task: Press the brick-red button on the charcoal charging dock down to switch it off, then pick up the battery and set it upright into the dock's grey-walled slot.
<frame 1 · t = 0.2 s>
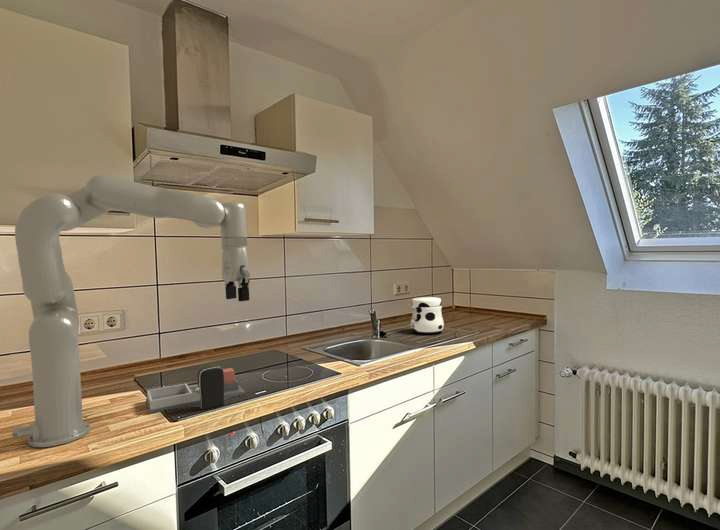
hand: (237, 299, 126), 30 cm above the worktop, tool pointing down, fingers open, 9 cm apart
red button: (226, 376, 132), point 5 cm above the worktop, slide at 0.0 cm
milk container: (427, 332, 219), on the worktop
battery: (211, 406, 120), on the worktop
charging dock: (196, 397, 128), on the worktop
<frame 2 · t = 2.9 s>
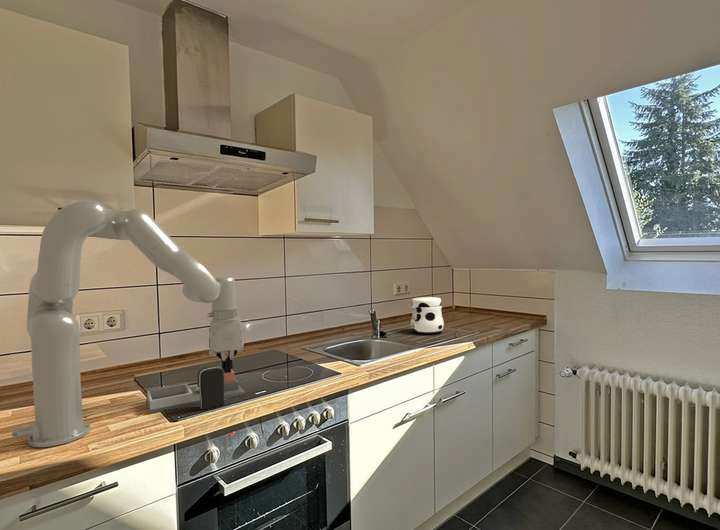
hand: (227, 371, 133), 7 cm above the worktop, tool pointing down, fingers closed
red button: (227, 377, 132), point 5 cm above the worktop, slide at 0.5 cm, touching gripper
everything else where it was.
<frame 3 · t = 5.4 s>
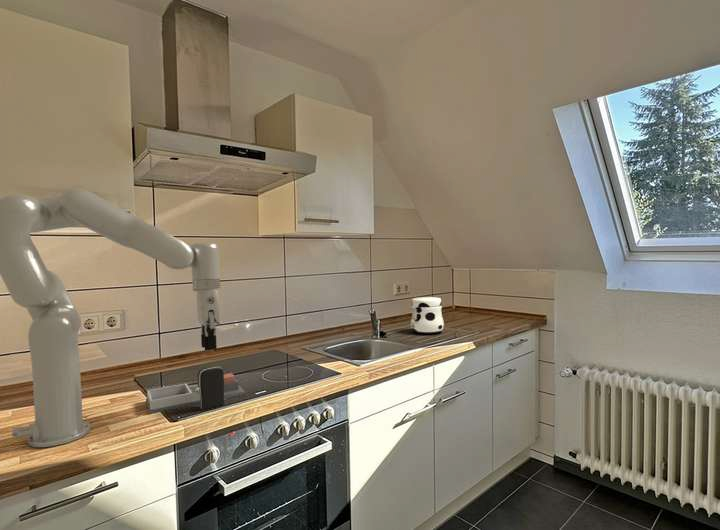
hand: (209, 347, 120), 17 cm above the worktop, tool pointing down, fingers open, 3 cm apart
red button: (227, 381, 132), point 3 cm above the worktop, slide at 1.8 cm
everything else where it was.
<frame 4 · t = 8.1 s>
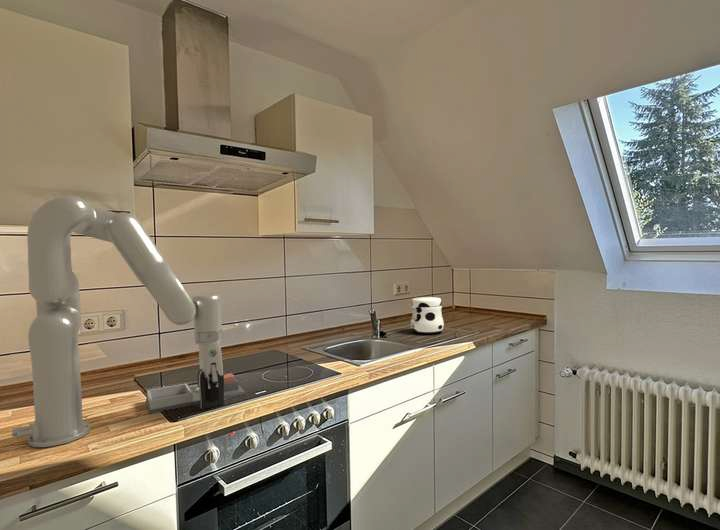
hand: (211, 398, 120), 2 cm above the worktop, tool pointing down, fingers closed on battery, 4 cm apart
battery: (211, 406, 121), on the worktop, touching gripper
everything else where it was.
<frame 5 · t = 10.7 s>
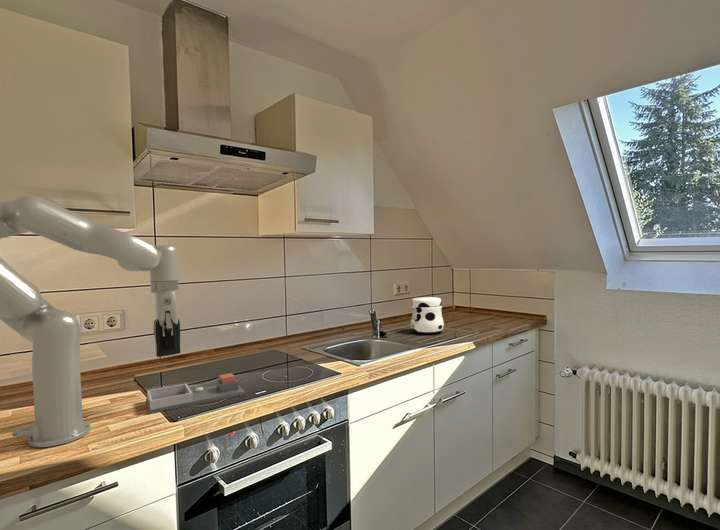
hand: (167, 347, 123), 17 cm above the worktop, tool pointing down, fingers closed on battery, 4 cm apart
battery: (167, 355, 123), point 14 cm above the worktop, touching gripper
everything else where it was.
when the fingers open (5 cm above the worktop, at t = 13.2 s): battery drops 2 cm, resting on charging dock.
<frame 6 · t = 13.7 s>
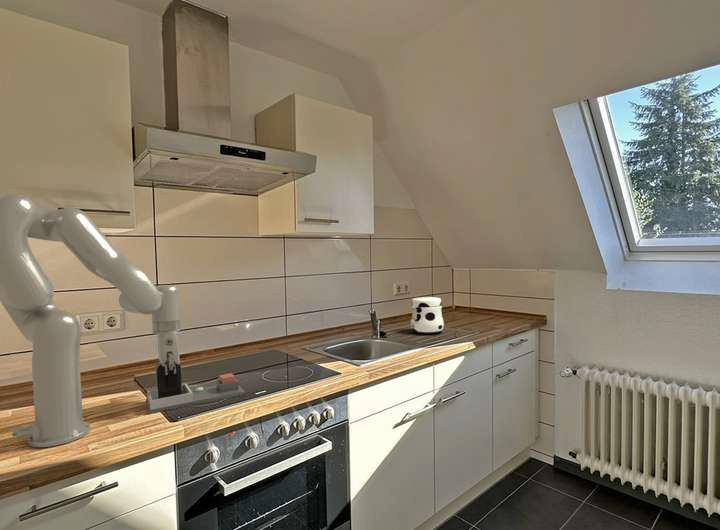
hand: (169, 383, 124), 6 cm above the worktop, tool pointing down, fingers open, 9 cm apart
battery: (169, 399, 124), point 1 cm above the worktop, touching charging dock
everything else where it was.
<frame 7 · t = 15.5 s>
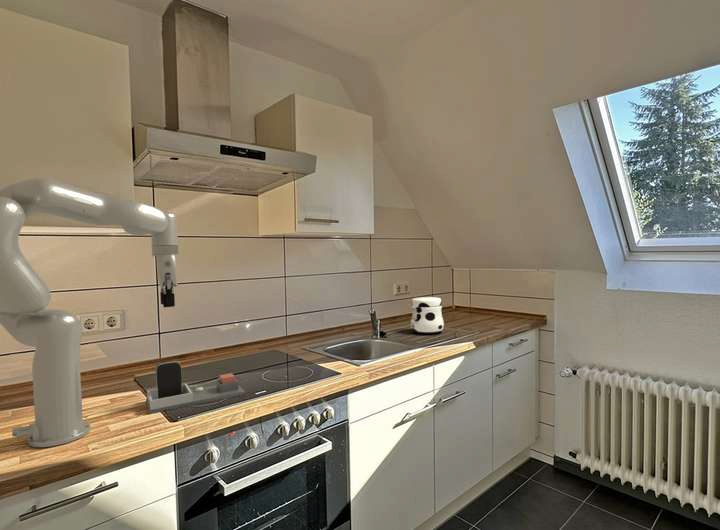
hand: (167, 305, 131), 29 cm above the worktop, tool pointing down, fingers open, 9 cm apart
nothing on the worktop moved.
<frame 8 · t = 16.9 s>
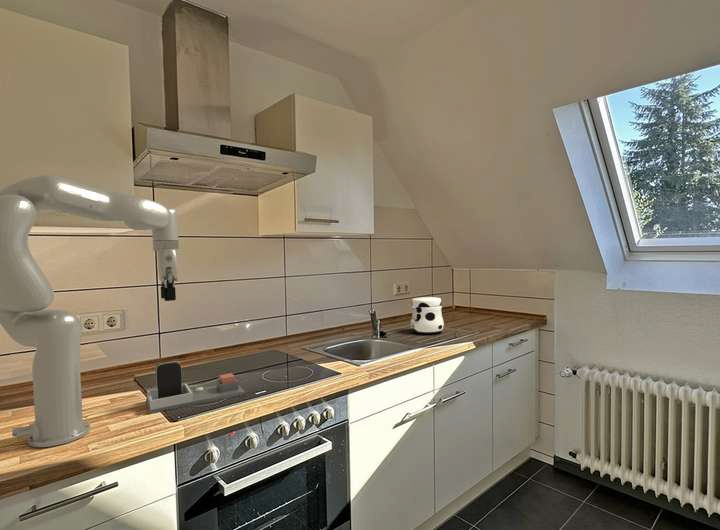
hand: (168, 299, 133), 30 cm above the worktop, tool pointing down, fingers open, 9 cm apart
nothing on the worktop moved.
at the end: red button slide at 1.8 cm; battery 0.6 cm from the target spot on the charging dock, point 0.8 cm above the charging dock's base; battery tilted 0° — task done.
